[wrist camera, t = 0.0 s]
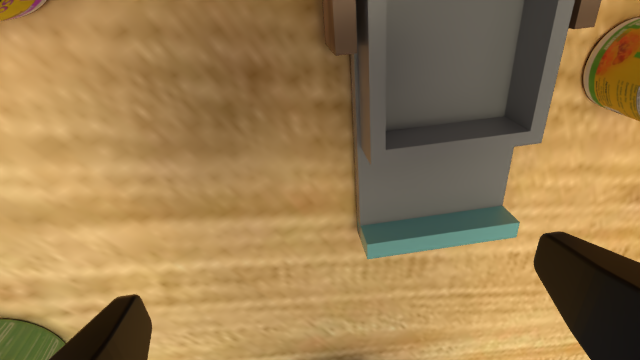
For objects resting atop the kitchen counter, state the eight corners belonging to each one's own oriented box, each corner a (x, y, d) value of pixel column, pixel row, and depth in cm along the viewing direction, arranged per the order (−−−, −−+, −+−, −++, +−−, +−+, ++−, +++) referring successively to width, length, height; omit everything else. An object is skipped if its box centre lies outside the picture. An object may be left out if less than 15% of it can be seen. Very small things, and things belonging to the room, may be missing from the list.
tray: (491, 211, 26) (520, 241, 23) (357, 231, 26) (369, 264, 23) (540, -59, 18) (594, -66, 15) (346, -40, 18) (362, -45, 15)
